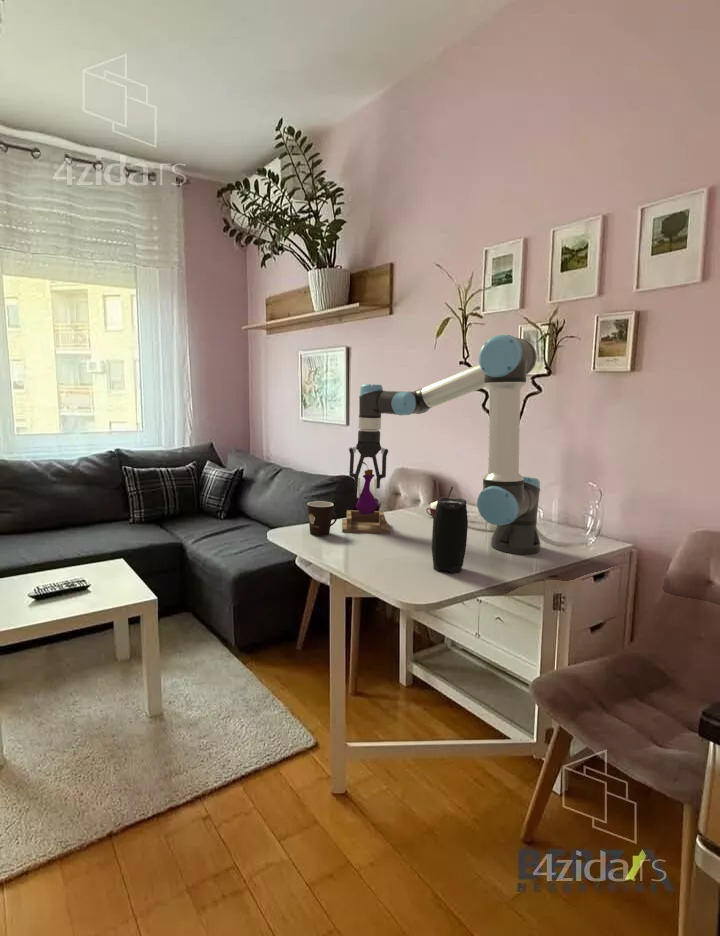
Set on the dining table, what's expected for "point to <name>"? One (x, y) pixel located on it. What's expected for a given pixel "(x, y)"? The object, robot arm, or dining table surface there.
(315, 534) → the coffee mug
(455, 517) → the portable speaker
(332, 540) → the dining table surface
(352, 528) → the walnut cradle
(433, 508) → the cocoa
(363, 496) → the perfume bottle
